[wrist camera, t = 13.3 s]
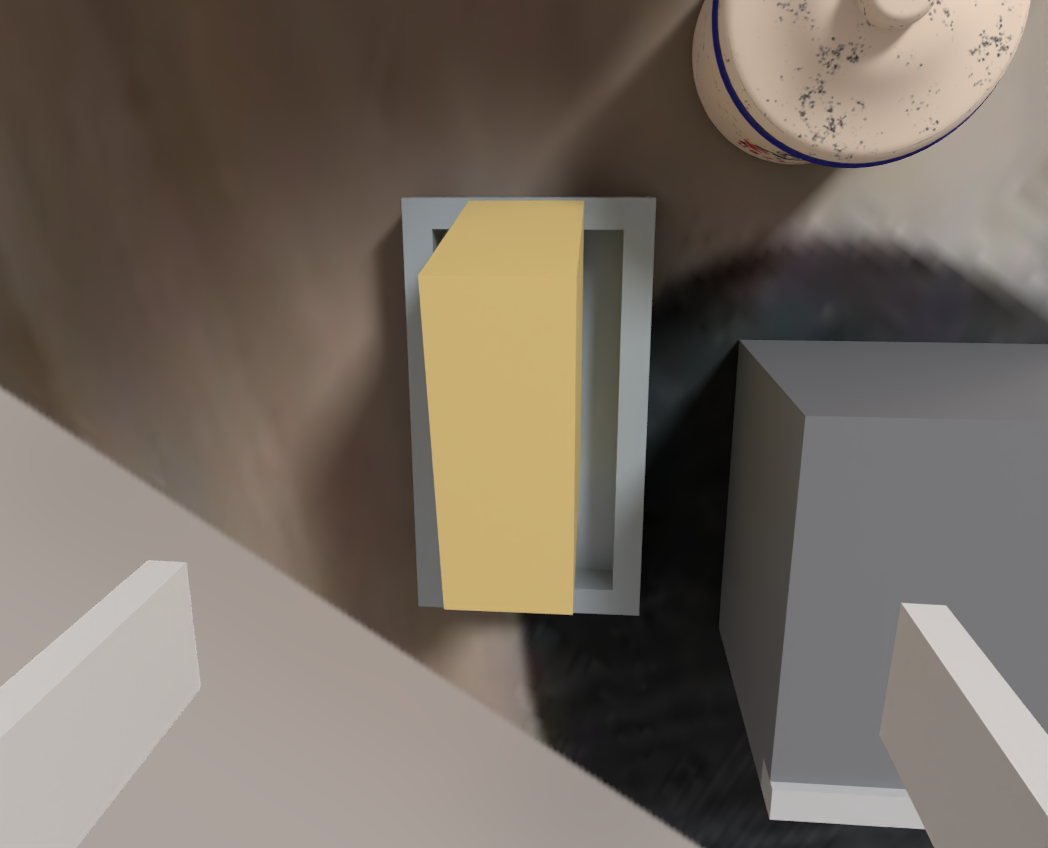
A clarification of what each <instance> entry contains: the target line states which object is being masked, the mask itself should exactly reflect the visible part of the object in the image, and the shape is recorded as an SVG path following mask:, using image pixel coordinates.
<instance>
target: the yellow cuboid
mask: <svg viewBox="0 0 1048 848" xmlns="http://www.w3.org/2000/svg"><path fill="white" fill-rule="evenodd" d="M583 252H584V200H532V201H468V203H467V204H466V206H465V207H464V208H463V210H462V211H461V213H460V214H459V216H458V217H457V219H456V220H455V222H454V223H453V225H452V226H451V228H450V229H449V231H448V232H447V233H446V235H445V236H444V238H443V239H442V241H441V242H440V244H439V245H438V247H437V248H436V250H435V251H434V253H433V254H432V256H431V257H430V259H429V260H428V261H427V263H426V264H425V266H424V267H423V269H422V270H421V272H420V273H419V275H418V282H419V295H420V308H421V321H422V333H423V346H424V359H425V372H426V385H427V398H428V410H429V423H430V436H431V449H432V462H433V474H434V487H435V500H436V513H437V526H438V539H439V551H440V564H441V577H442V590H443V603H444V609H445V610H469V611H493V612H516V613H540V614H564V615H573V604H574V584H575V565H576V545H577V526H578V506H579V487H580V461H581V391H582V322H583Z"/></svg>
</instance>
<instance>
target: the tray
mask: <svg viewBox="0 0 1048 848" xmlns="http://www.w3.org/2000/svg"><path fill="white" fill-rule="evenodd" d="M532 200H584V252H583V322H582V391H581V461H580V487H579V506H578V526H577V545H576V565H575V584H574V604H573V613H589V614H613V615H636V616H639V604H640V580H641V555H642V531H643V507H644V483H645V459H646V435H647V411H648V386H649V362H650V338H651V314H652V290H653V266H654V242H655V217H656V198H655V197H406V198H401V203H402V227H403V251H404V275H405V299H406V323H407V347H408V371H409V395H410V419H411V443H412V467H413V491H414V515H415V539H416V563H417V587H418V606H423V607H444V603H443V590H442V577H441V564H440V551H439V539H438V526H437V513H436V500H435V487H434V474H433V462H432V449H431V436H430V423H429V410H428V398H427V385H426V372H425V359H424V346H423V333H422V321H421V308H420V295H419V282H418V275H419V273H420V272H421V270H422V269H423V267H424V266H425V264H426V263H427V261H428V260H429V259H430V257H431V256H432V254H433V253H434V251H435V250H436V248H437V247H438V245H439V244H440V242H441V241H442V239H443V238H444V236H445V235H446V233H447V232H448V231H449V229H450V228H451V226H452V225H453V223H454V222H455V220H456V219H457V217H458V216H459V214H460V213H461V211H462V210H463V208H464V207H465V206H466V204H467V203H468V201H532Z"/></svg>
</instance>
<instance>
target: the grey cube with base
mask: <svg viewBox="0 0 1048 848" xmlns="http://www.w3.org/2000/svg"><path fill="white" fill-rule="evenodd" d="M901 603H913V604H931V605H946V606H947V607H948V608H949V610H950V611H951V612H952V613H953V615H954V616H955V617H956V618H957V620H958V621H959V622H960V624H961V625H962V626H963V627H964V629H965V630H966V631H967V633H968V634H969V635H970V636H971V638H972V639H973V640H974V641H975V643H976V644H977V645H978V647H979V648H980V649H981V650H982V652H983V653H984V654H985V655H986V657H987V658H988V659H989V661H990V662H991V663H992V664H993V666H994V667H995V668H996V669H997V671H998V672H999V673H1000V675H1001V676H1002V677H1003V678H1004V680H1005V681H1006V682H1007V683H1008V685H1009V686H1010V687H1011V689H1012V690H1013V691H1014V692H1015V694H1016V695H1017V696H1018V697H1019V699H1020V700H1021V701H1022V703H1023V704H1024V705H1025V706H1026V708H1027V709H1028V710H1029V711H1030V713H1031V714H1032V715H1033V717H1034V718H1035V719H1036V720H1037V722H1038V723H1039V724H1040V725H1041V727H1042V728H1043V729H1044V731H1045V732H1046V733H1047V734H1048V344H999V343H928V342H857V341H786V340H739V350H738V364H737V378H736V392H735V406H734V420H733V434H732V448H731V462H730V476H729V490H728V504H727V518H726V531H725V545H724V559H723V573H722V587H721V601H720V615H719V631H720V634H721V638H722V642H723V646H724V649H725V653H726V657H727V661H728V664H729V668H730V672H731V676H732V680H733V683H734V687H735V691H736V695H737V698H738V702H739V706H740V710H741V714H742V717H743V721H744V725H745V729H746V732H747V736H748V740H749V744H750V748H751V751H752V755H753V759H754V763H755V766H756V770H757V774H758V778H759V782H760V785H761V789H762V793H763V797H764V800H765V804H766V808H767V812H768V815H769V819H770V820H785V821H801V822H817V823H833V824H850V825H866V826H882V827H898V828H914V829H925V827H924V825H923V823H922V821H921V819H920V817H919V815H918V813H917V811H916V809H915V807H914V805H913V803H912V801H911V799H910V797H909V795H908V793H907V791H906V788H905V786H904V784H903V782H902V780H901V778H900V776H899V774H898V772H897V770H896V768H895V766H894V764H893V762H892V760H891V758H890V756H889V754H888V752H887V750H886V747H885V745H884V743H883V741H882V739H881V737H880V735H879V734H880V728H881V722H882V715H883V709H884V703H885V697H886V691H887V685H888V679H889V673H890V667H891V661H892V655H893V649H894V643H895V637H896V631H897V625H898V619H899V613H900V607H901Z"/></svg>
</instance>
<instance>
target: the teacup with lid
mask: <svg viewBox="0 0 1048 848" xmlns="http://www.w3.org/2000/svg"><path fill="white" fill-rule="evenodd" d="M1030 2H1031V0H705V1H704V3H703V5H702V8H701V11H700V14H699V16H698V20H697V24H696V27H695V33H694V38H693V48H692V65H693V75H694V80H695V85H696V88H697V92H698V95H699V98H700V100H701V103H702V105H703V107H704V109H705V111H706V113H707V115H708V117H709V118H710V119H711V121H712V122H713V124H714V125H715V126H716V128H717V129H718V130H719V131H720V132H721V134H723V135H724V136H725V137H726V138H727V139H728V140H729V141H730V142H731V143H733V144H734V145H735V146H736V147H738V148H740V149H741V150H743V151H744V152H746V153H748V154H750V155H752V156H755V157H757V158H760V159H763V160H766V161H770V162H774V163H781V164H795V165H797V164H811V163H815V164H819V165H823V166H830V167H837V168H861V167H871V166H877V165H883V164H887V163H891V162H894V161H898V160H901V159H904V158H906V157H909V156H912V155H914V154H916V153H918V152H920V151H922V150H925V149H927V148H928V147H930V146H932V145H934V144H935V143H937V142H939V141H940V140H942V139H943V138H945V137H946V136H947V135H949V134H950V133H952V132H953V131H954V130H956V129H957V128H958V127H959V126H960V125H962V124H963V123H964V122H965V121H966V120H967V119H968V118H969V117H970V116H971V115H972V114H973V113H974V112H975V111H976V110H977V109H978V108H979V107H980V106H981V105H982V104H983V102H984V101H985V100H986V99H987V98H988V96H989V95H990V94H991V92H992V91H993V90H994V88H995V87H996V85H997V84H998V82H999V81H1000V79H1001V78H1002V76H1003V74H1004V73H1005V71H1006V69H1007V67H1008V66H1009V64H1010V62H1011V60H1012V58H1013V56H1014V54H1015V52H1016V50H1017V47H1018V45H1019V42H1020V39H1021V37H1022V34H1023V31H1024V28H1025V24H1026V21H1027V17H1028V12H1029V7H1030Z"/></svg>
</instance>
